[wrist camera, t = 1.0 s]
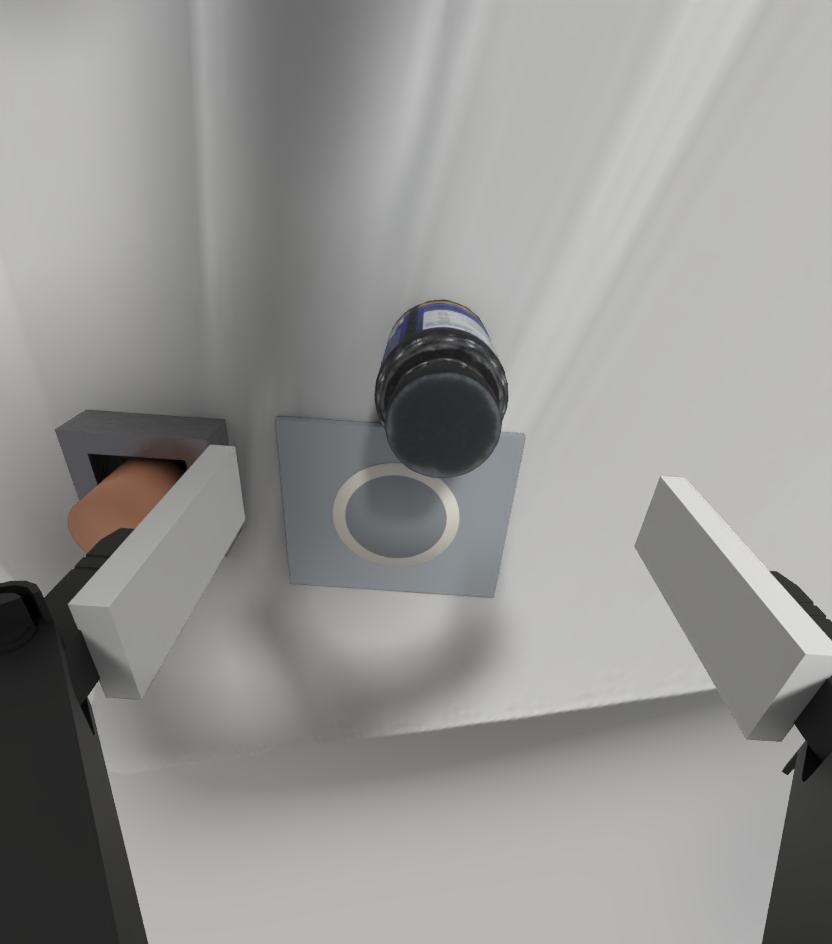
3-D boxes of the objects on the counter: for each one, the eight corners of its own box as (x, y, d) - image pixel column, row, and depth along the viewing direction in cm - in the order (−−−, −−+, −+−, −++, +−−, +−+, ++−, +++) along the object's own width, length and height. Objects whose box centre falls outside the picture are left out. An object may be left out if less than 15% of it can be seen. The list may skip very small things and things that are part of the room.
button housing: (86, 409, 31) (54, 429, 29) (224, 419, 31) (206, 440, 29) (120, 521, 36) (96, 547, 33) (241, 529, 36) (226, 556, 33)
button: (109, 452, 31) (55, 494, 26) (187, 457, 31) (147, 500, 26) (127, 515, 33) (82, 564, 29) (200, 520, 33) (165, 569, 29)
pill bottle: (422, 416, 31) (417, 516, 21) (366, 334, 28) (334, 407, 19) (508, 366, 29) (546, 452, 19) (457, 274, 26) (472, 321, 17)
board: (277, 416, 31) (274, 420, 30) (523, 433, 31) (525, 438, 31) (292, 578, 38) (289, 584, 37) (492, 591, 38) (493, 598, 38)
